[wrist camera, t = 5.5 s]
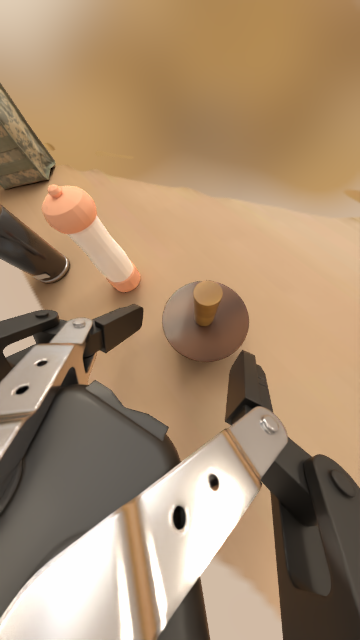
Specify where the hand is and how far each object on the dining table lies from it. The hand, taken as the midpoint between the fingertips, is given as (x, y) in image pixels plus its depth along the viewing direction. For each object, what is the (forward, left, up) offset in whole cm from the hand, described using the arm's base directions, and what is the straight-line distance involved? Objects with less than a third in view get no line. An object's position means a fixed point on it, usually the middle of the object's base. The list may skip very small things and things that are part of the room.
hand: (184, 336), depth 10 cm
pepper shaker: (-24, -6, -18) cm, 30 cm away
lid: (-3, +4, -9) cm, 10 cm away
